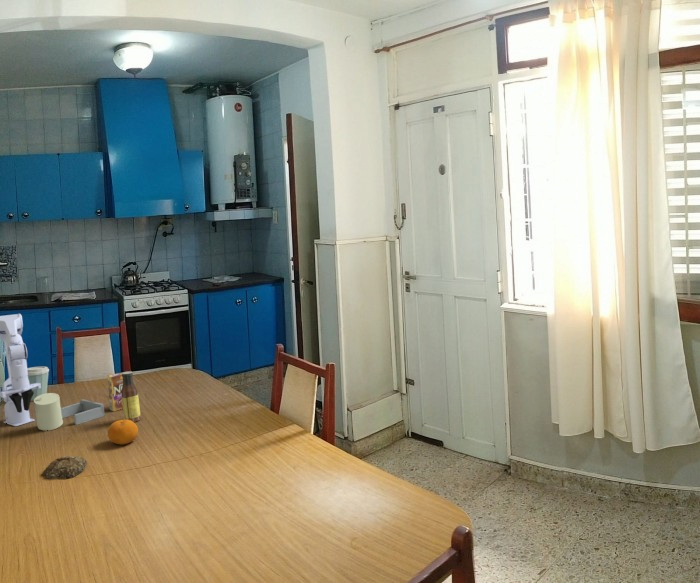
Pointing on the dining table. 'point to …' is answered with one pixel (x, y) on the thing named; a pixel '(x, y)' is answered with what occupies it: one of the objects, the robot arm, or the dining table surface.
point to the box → (83, 411)
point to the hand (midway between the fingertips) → (23, 411)
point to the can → (48, 411)
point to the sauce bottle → (130, 398)
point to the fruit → (122, 431)
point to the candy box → (115, 391)
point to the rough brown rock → (65, 467)
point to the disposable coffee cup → (38, 379)
